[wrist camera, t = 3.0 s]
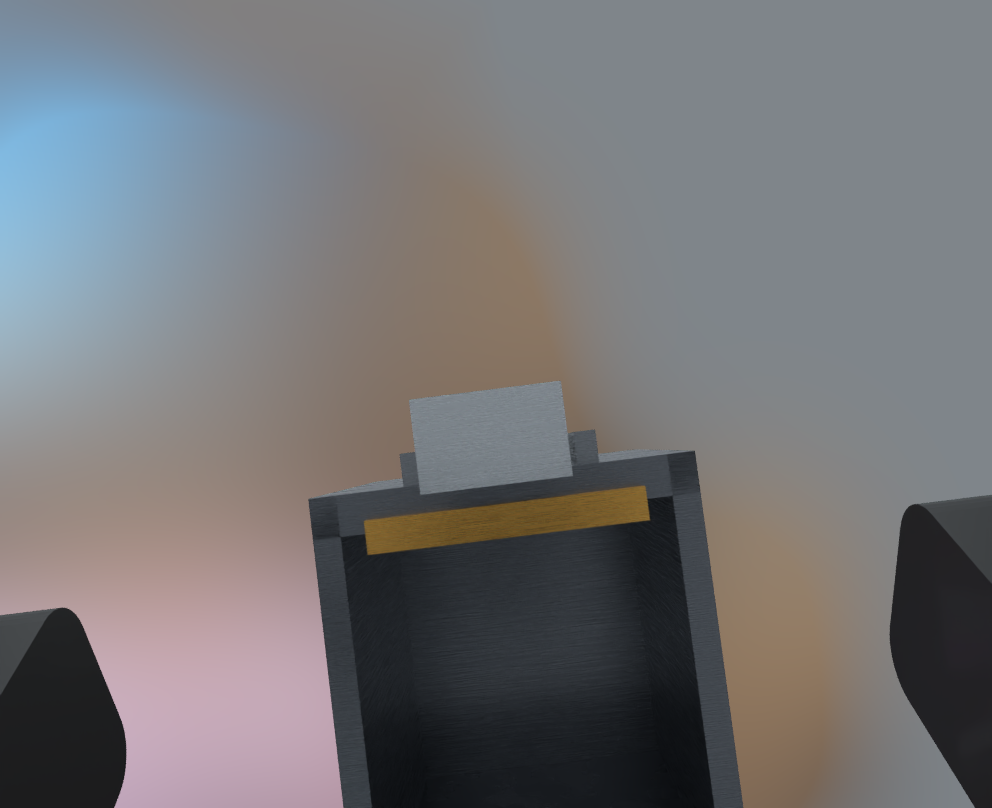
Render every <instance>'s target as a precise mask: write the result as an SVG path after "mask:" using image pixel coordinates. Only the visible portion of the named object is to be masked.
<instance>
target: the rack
mask: <svg viewBox="0 0 992 808" xmlns="http://www.w3.org/2000/svg"><path fill="white" fill-rule="evenodd" d="M568 442H569V450H570V457H571V465H572V473H573V476H568V477H560V478H552V479H544V480H536V481H528V482H520V483H512V484H504V485H496V486H488V487H480V488H472V489H464V490H456V491H448V492H440V493H432V494H424V495H420V487H419V479H418V470H417V462H416V454H415V452H413V453H404V454H400V462H401V469H402V478H403V479H395V480H388V481H380V482H373V483H369V484H365V485H361V486H358V487H354V488H350V489H346V490H342V491H338V492H334V493H330V494H326V495H322V496H318V497H314V498H310V499H309V509H310V518H311V527H312V535H313V544H314V552H315V561H316V569H317V579H318V587H319V597H320V605H321V614H322V622H323V632H324V639H325V648H326V658H327V667H328V675H329V684H330V693H331V702H332V710H333V719H334V728H335V736H336V744H337V754H338V763H339V772H340V780H341V789H342V797H343V807H344V808H743V802H742V795H741V787H740V780H739V773H738V765H737V758H736V750H735V743H734V736H733V728H732V721H731V714H730V706H729V699H728V692H727V685H726V677H725V669H724V662H723V655H722V648H721V640H720V633H719V626H718V618H717V611H716V603H715V596H714V588H713V581H712V575H711V566H710V559H709V552H708V545H707V538H706V530H705V522H704V515H703V508H702V500H701V493H700V485H699V479H698V471H697V464H696V456H695V451H685V450H627V451H619V452H612V453H603V454H598V449H597V441H596V434H595V430H588V431H580V432H572V433H568Z"/></svg>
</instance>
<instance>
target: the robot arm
mask: <svg viewBox="0 0 992 808" xmlns="http://www.w3.org/2000/svg"><path fill="white" fill-rule="evenodd" d="M890 646H891V653H892V658H893V663H894V667H895V670H896V673H897V676H898V679H899V682H900V684H901V687H902V689H903V691H904V693H905V695H906V696H907V698H908V700H909V702H910V703H911V705H912V707H913V708H914V709H915V711H916V713H917V715H918V716H919V718H920V719H921V721H922V723H923V724H924V726H925V728H926V729H927V731H928V732H929V734H930V735H931V737H932V739H933V740H934V742H935V744H936V745H937V747H938V749H939V750H940V752H941V753H942V755H943V757H944V758H945V760H946V761H947V763H948V764H949V766H950V768H951V769H952V771H953V773H954V774H955V776H956V778H957V779H958V781H959V782H960V784H961V785H962V787H963V789H964V790H965V792H966V794H967V795H968V797H969V799H970V800H971V802H972V803H973V805H974V807H975V808H992V495H987V496H979V497H970V498H962V499H955V500H947V501H938V502H930V503H922V504H914V505H911V506H909V507H908V508H907V509H906V511H905V513H904V515H903V518H902V521H901V528H900V537H899V547H898V556H897V565H896V575H895V585H894V595H893V604H892V614H891V623H890ZM125 768H126V740H125V733H124V728H123V724H122V721H121V719H120V716H119V714H118V711H117V709H116V706H115V704H114V702H113V699H112V696H111V694H110V692H109V689H108V687H107V684H106V682H105V679H104V677H103V675H102V672H101V670H100V667H99V665H98V662H97V660H96V657H95V655H94V653H93V650H92V648H91V645H90V643H89V641H88V638H87V636H86V633H85V631H84V628H83V626H82V624H81V622H80V620H79V618H78V617H77V616H76V614H75V613H73V612H72V611H71V610H69V609H67V608H56V609H48V610H40V611H32V612H24V613H16V614H9V615H0V808H114V806H115V804H116V801H117V799H118V796H119V794H120V791H121V787H122V784H123V780H124V775H125Z"/></svg>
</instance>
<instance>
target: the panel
mask: <svg viewBox="0 0 992 808" xmlns="http://www.w3.org/2000/svg"><path fill="white" fill-rule="evenodd" d="M409 404H410V412H411V420H412V429H413V437H414V445H415V454H416V462H417V470H418V479H419V487H420V495H424V494H432V493H440V492H448V491H456V490H464V489H472V488H480V487H488V486H496V485H504V484H512V483H520V482H528V481H536V480H544V479H552V478H560V477H568V476H573V473H572V465H571V457H570V450H569V442H568V434H567V427H566V419H565V411H564V404H563V396H562V388H561V381H555V382H547V383H539V384H531V385H523V386H515V387H507V388H500V389H492V390H484V391H475V392H468V393H460V394H452V395H444V396H437V397H428V398H420V399H413V400H409Z"/></svg>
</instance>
